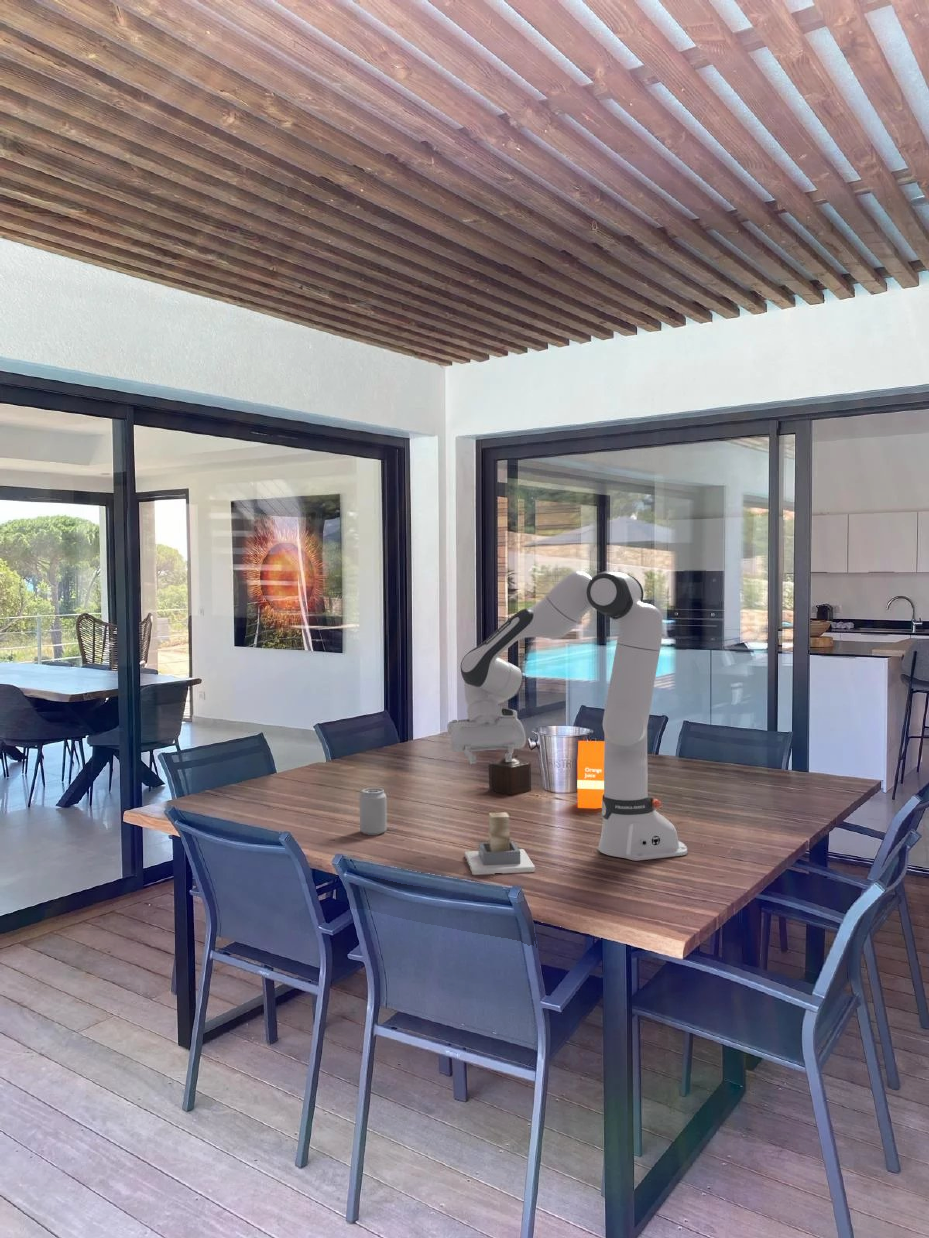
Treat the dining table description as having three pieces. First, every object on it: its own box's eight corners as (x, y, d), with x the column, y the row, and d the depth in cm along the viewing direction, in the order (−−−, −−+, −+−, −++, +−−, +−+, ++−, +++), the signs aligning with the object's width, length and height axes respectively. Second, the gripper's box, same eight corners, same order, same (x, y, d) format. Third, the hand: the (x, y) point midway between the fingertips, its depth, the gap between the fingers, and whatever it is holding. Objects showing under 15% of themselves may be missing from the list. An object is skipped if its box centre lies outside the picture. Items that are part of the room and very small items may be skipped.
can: (387, 828, 262) (387, 786, 261) (386, 835, 254) (385, 792, 254) (361, 829, 262) (360, 787, 261) (359, 836, 254) (358, 793, 254)
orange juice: (606, 808, 281) (606, 743, 281) (577, 807, 283) (576, 742, 282) (607, 802, 289) (607, 739, 288) (579, 801, 291) (579, 738, 290)
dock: (523, 853, 236) (523, 837, 236) (535, 871, 221) (534, 854, 221) (465, 856, 234) (465, 839, 234) (472, 874, 220) (472, 857, 219)
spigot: (506, 855, 230) (506, 812, 230) (509, 861, 226) (509, 816, 225) (489, 856, 230) (488, 812, 229) (491, 862, 225) (491, 817, 225)
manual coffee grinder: (533, 790, 307) (533, 736, 306) (510, 796, 300) (510, 740, 299) (500, 783, 318) (500, 731, 318) (477, 788, 311) (476, 735, 310)
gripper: (447, 713, 248) (452, 756, 238) (522, 710, 250) (530, 752, 241) (445, 727, 252) (450, 770, 243) (519, 724, 255) (527, 766, 246)
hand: (491, 761), depth 242 cm, fingers open, 8 cm apart
